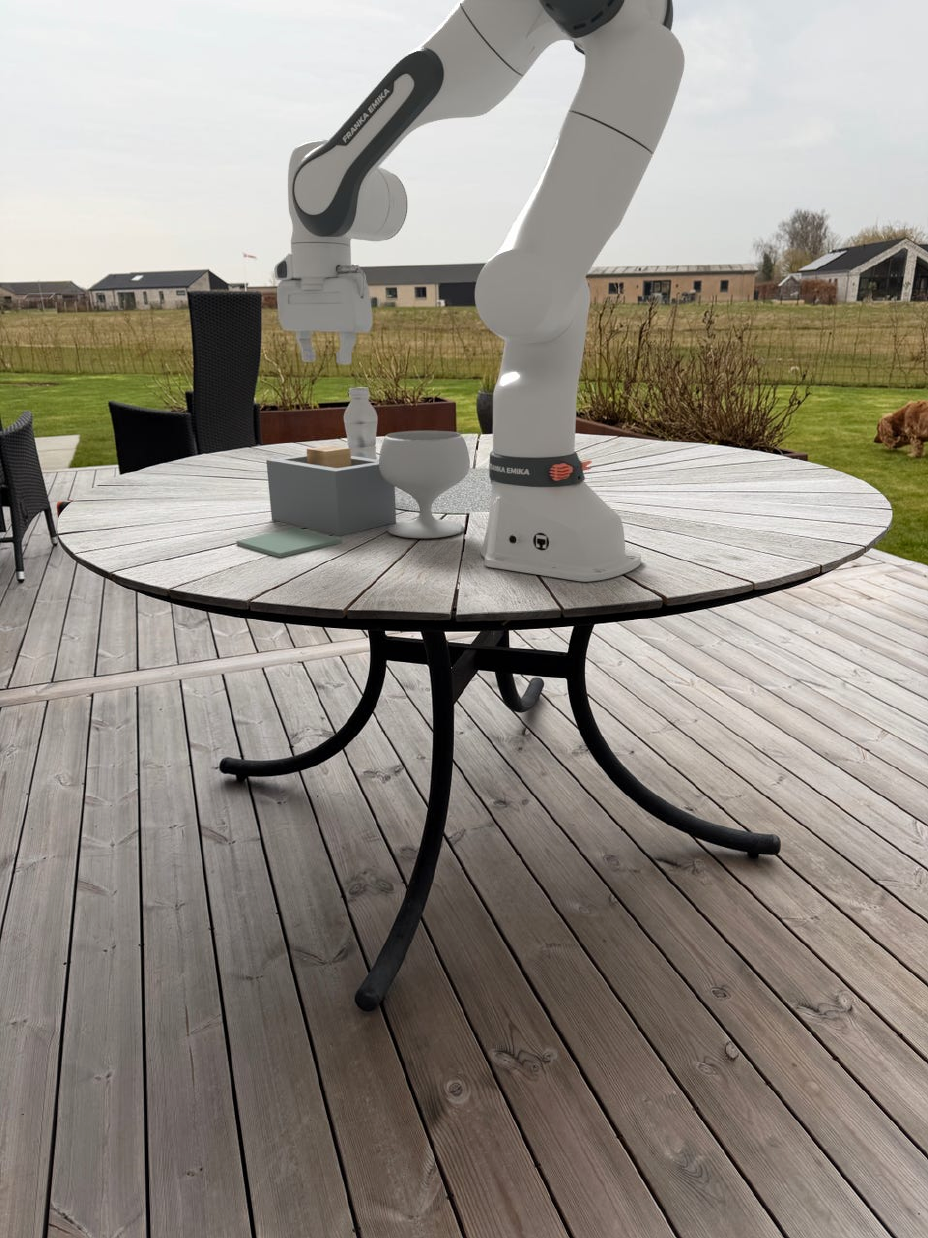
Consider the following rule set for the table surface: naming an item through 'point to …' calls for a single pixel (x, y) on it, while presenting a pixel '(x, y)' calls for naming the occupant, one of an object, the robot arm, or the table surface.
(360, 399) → the plastic bottle
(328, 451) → the honey block
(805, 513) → the table surface
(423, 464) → the chalice
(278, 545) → the green mat
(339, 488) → the box
